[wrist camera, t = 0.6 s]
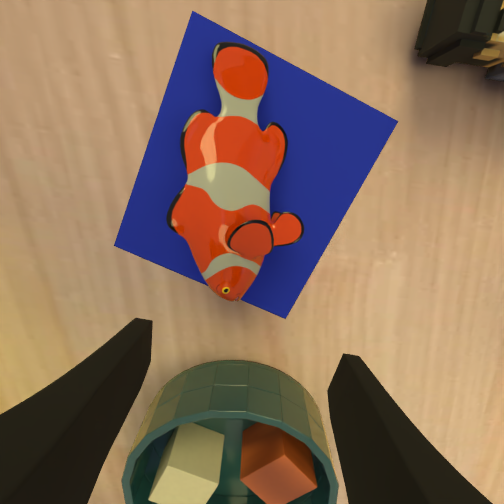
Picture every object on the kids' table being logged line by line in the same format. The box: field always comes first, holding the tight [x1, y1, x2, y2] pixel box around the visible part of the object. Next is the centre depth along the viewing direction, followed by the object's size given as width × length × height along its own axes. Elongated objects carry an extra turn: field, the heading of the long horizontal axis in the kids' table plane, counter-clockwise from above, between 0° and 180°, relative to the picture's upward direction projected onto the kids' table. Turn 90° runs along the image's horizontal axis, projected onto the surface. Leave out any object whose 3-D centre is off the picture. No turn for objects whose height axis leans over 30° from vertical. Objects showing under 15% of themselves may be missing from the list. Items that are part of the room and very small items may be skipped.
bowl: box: [122, 360, 339, 504], centre depth 24 cm, size 15×15×5 cm
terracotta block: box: [240, 422, 317, 504], centre depth 23 cm, size 4×4×4 cm
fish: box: [165, 41, 305, 301], centre depth 16 cm, size 13×5×9 cm
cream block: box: [148, 423, 224, 504], centre depth 24 cm, size 4×4×4 cm
